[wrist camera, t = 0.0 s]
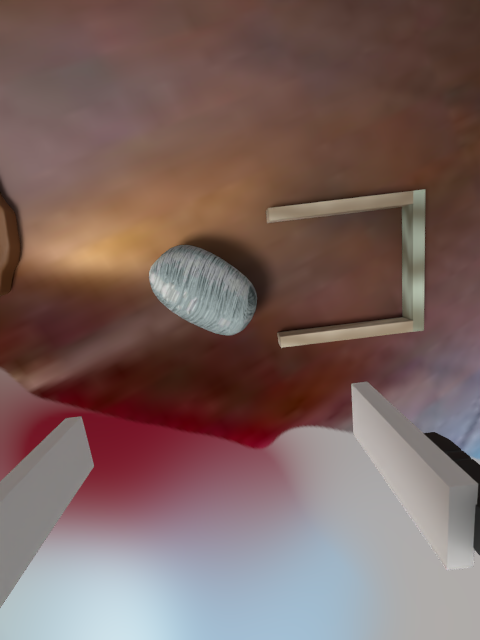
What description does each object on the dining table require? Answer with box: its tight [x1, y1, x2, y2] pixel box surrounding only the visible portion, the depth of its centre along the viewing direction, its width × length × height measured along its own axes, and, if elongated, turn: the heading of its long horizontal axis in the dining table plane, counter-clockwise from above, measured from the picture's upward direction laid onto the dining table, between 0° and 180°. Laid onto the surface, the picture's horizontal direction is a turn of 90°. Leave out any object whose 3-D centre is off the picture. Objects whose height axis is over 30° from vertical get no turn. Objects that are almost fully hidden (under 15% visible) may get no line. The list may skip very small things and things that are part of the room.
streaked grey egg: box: [149, 245, 257, 335], centre depth 37 cm, size 14×10×10 cm
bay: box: [266, 189, 425, 348], centre depth 40 cm, size 18×20×2 cm
